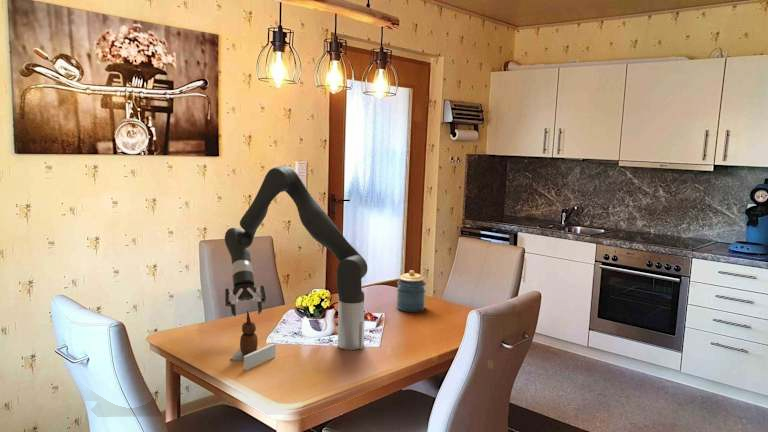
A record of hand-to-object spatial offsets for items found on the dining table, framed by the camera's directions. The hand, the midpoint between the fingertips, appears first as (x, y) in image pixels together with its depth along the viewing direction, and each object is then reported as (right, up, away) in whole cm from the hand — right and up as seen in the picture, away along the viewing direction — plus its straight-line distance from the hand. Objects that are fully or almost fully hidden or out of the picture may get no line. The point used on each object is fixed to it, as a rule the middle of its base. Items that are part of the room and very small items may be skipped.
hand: (247, 314), depth 200 cm
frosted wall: (+7, -14, -13) cm, 20 cm away
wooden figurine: (+2, -13, -7) cm, 15 cm away
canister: (+61, -7, +54) cm, 82 cm away
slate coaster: (+2, -13, -7) cm, 15 cm away
